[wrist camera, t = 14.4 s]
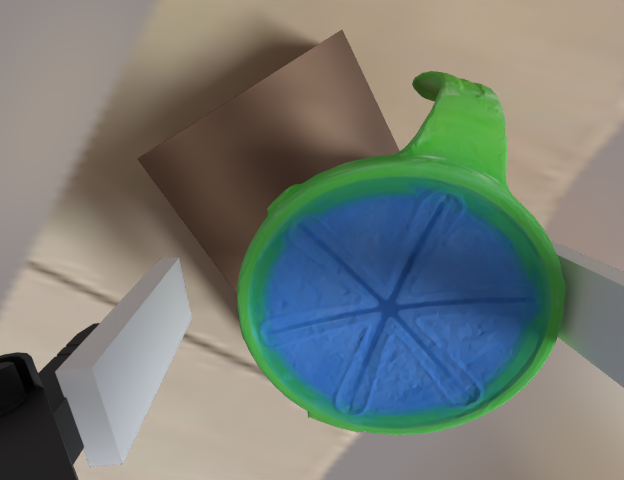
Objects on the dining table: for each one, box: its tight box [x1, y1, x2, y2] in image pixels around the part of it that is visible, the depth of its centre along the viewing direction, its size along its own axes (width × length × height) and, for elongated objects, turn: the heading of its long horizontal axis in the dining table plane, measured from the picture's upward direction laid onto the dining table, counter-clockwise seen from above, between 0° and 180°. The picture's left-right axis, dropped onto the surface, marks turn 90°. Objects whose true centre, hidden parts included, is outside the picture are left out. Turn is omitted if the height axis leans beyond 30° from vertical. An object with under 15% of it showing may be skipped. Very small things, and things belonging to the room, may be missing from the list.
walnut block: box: [138, 30, 399, 293], centre depth 24 cm, size 13×17×5 cm
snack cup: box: [237, 71, 567, 435], centre depth 16 cm, size 16×10×10 cm
